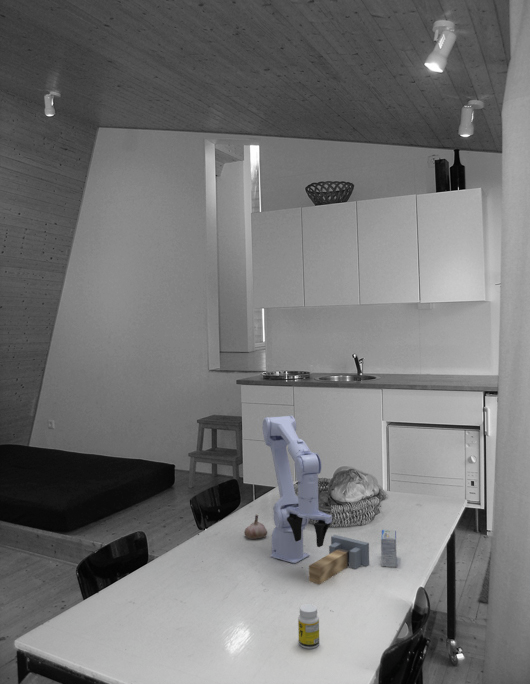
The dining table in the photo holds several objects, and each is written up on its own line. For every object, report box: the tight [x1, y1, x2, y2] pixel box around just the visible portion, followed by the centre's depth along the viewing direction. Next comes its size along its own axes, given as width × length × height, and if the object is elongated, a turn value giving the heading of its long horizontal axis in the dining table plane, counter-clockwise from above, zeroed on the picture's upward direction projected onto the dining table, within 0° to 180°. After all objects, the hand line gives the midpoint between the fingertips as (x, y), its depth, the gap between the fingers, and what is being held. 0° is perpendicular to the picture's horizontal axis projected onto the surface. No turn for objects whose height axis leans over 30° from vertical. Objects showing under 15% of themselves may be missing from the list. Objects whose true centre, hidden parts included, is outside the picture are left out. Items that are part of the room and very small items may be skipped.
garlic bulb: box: [243, 513, 268, 540], centre depth 211 cm, size 8×7×8 cm
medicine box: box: [380, 529, 398, 568], centre depth 188 cm, size 8×4×9 cm, turn 168°
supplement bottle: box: [297, 603, 320, 649], centre depth 143 cm, size 5×5×8 cm
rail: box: [308, 549, 349, 585], centre depth 181 cm, size 16×4×4 cm, turn 141°
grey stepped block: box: [328, 534, 370, 570], centre depth 189 cm, size 12×6×6 cm, turn 52°
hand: (308, 543), depth 180 cm, fingers open, 7 cm apart
